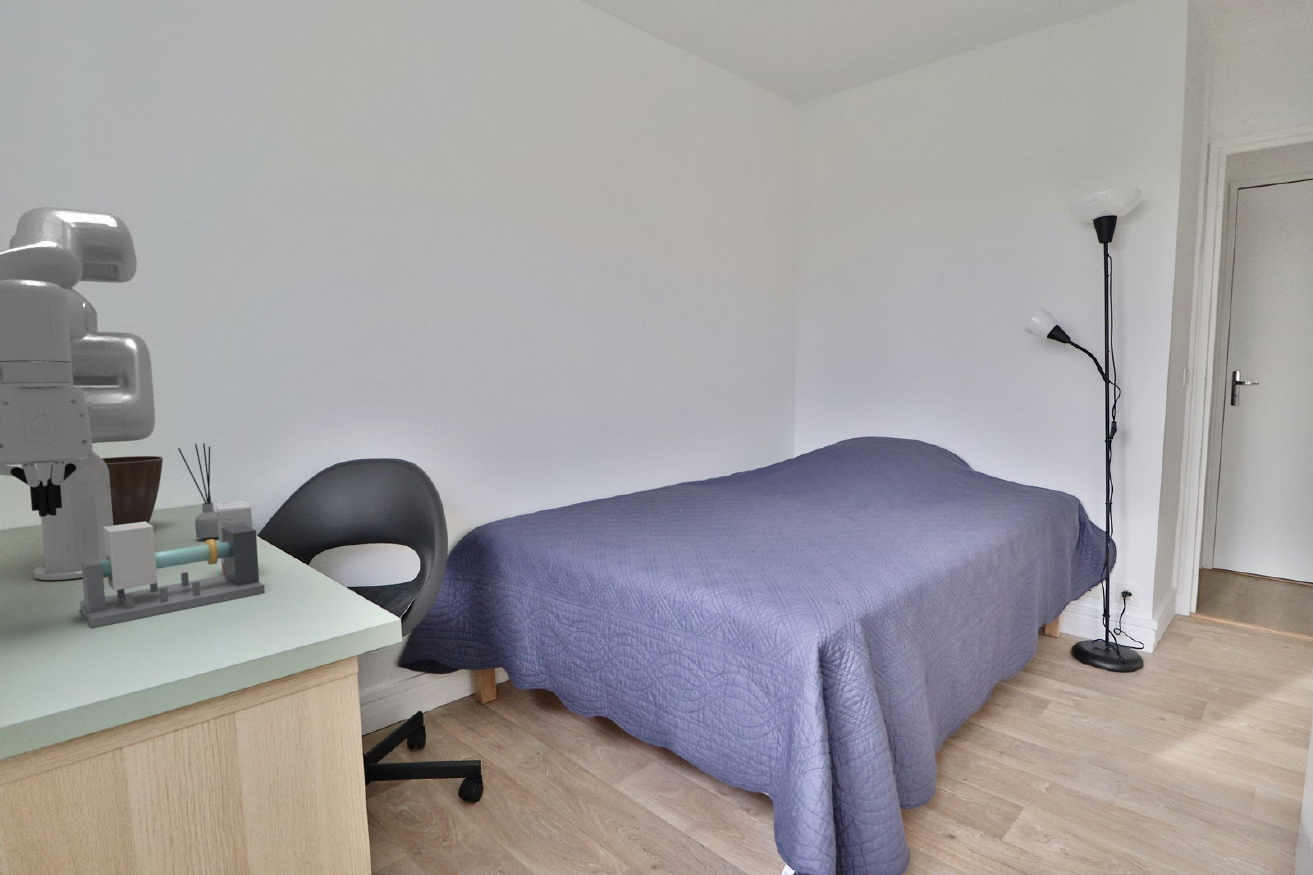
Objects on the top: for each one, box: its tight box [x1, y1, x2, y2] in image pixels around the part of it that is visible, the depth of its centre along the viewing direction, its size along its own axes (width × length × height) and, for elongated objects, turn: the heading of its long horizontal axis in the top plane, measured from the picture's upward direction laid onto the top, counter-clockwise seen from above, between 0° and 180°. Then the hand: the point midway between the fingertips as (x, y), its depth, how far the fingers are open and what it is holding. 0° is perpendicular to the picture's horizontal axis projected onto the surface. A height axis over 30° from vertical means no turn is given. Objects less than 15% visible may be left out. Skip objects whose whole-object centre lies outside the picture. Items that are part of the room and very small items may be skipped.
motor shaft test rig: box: [79, 525, 265, 628], centre depth 105 cm, size 21×11×9 cm, turn 135°
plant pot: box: [100, 455, 164, 526], centre depth 154 cm, size 15×15×16 cm
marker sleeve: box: [103, 522, 158, 591], centre depth 102 cm, size 5×5×8 cm
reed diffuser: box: [177, 442, 219, 539], centre depth 146 cm, size 10×7×20 cm
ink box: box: [215, 500, 254, 575], centre depth 120 cm, size 9×5×12 cm, turn 33°
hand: (47, 514), depth 95 cm, fingers closed
